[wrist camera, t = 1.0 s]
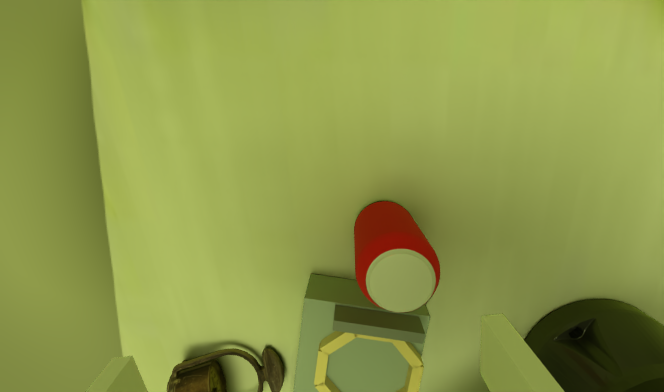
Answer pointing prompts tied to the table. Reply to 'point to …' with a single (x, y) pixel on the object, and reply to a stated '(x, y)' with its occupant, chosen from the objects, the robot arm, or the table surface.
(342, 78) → the table surface
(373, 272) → the beverage can
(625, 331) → the robot arm
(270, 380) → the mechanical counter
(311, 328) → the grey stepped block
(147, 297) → the table surface
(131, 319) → the table surface
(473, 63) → the table surface
